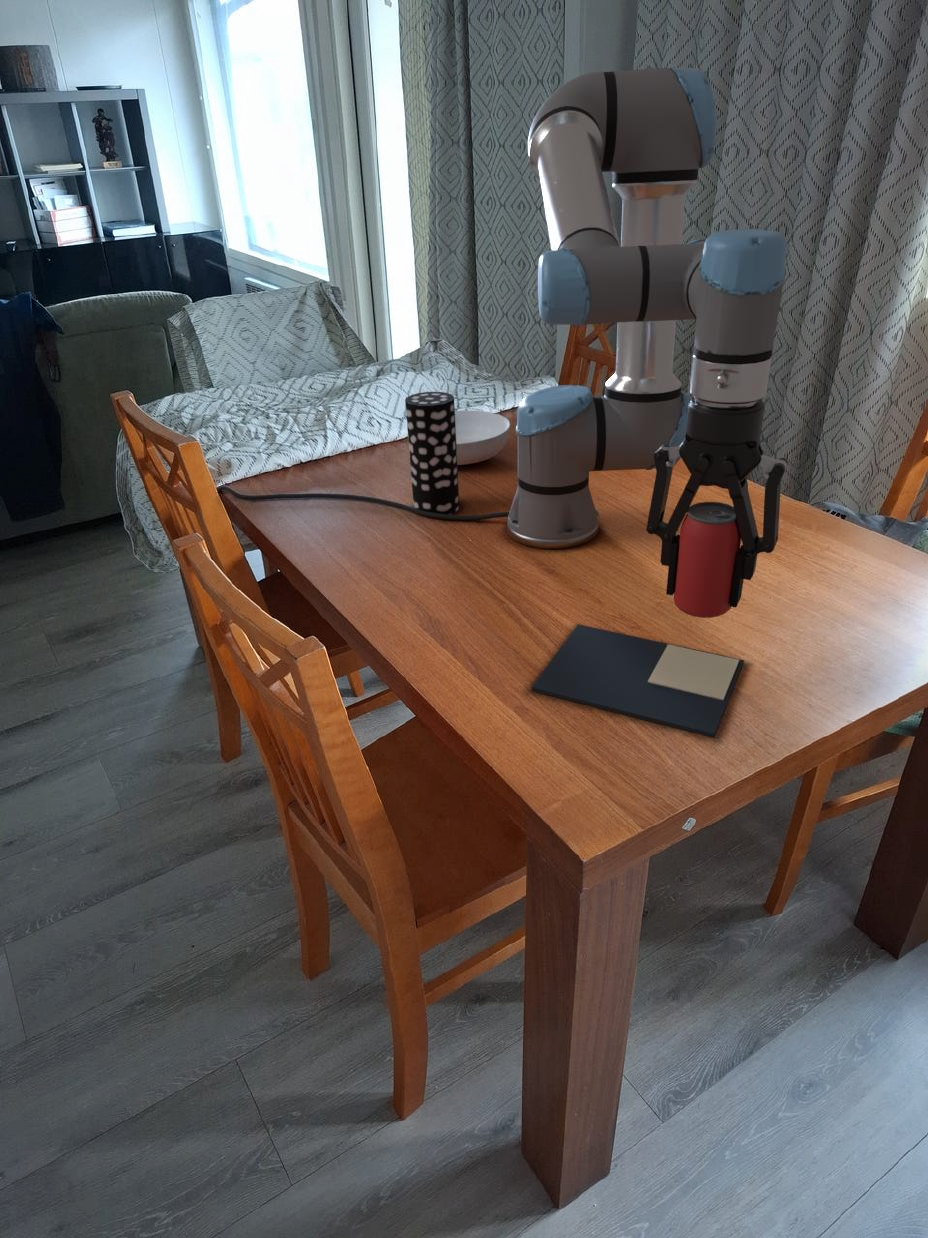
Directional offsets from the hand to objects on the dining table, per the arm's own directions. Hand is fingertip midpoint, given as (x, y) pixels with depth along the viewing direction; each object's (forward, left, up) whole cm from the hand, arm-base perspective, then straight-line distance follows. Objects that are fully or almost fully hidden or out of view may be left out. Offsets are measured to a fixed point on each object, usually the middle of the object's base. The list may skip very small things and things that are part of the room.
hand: (703, 595), depth 96 cm
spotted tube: (-55, +34, -12) cm, 66 cm away
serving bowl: (-63, +59, -12) cm, 87 cm away
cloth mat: (-6, -3, -11) cm, 13 cm away
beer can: (0, 0, -2) cm, 2 cm away
